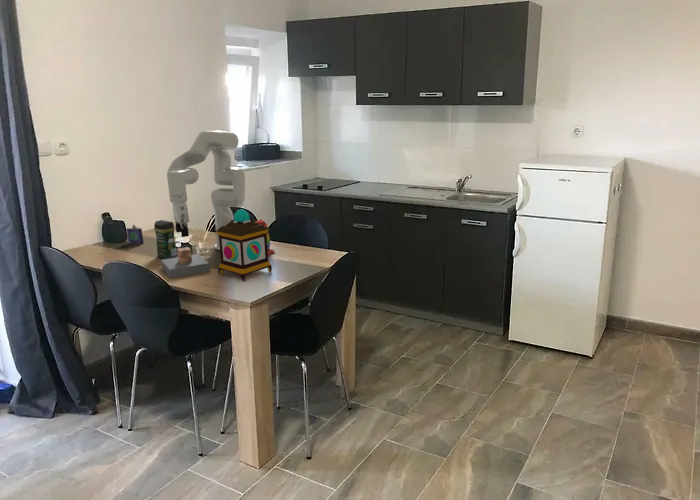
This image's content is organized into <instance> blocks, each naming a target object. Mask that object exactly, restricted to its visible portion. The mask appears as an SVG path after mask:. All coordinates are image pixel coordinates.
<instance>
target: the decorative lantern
mask: <svg viewBox="0 0 700 500" xmlns="http://www.w3.org/2000/svg"><path fill="white" fill-rule="evenodd" d="M269 229H270V228H269V227H268V228H267V227H266V226H264V225H262V224H258V223H256V221H255V220H253V219H252V218H250V213H248V211H246V210H245V209H242V208H241V209H238V210H236V212H235V213H234V214H233V220H231V222H229V223H228V224H226V225H225V226H221V227H220V228H219V229H218V230H217V231H216V230H215V233H216V232H217V234H218V236H219V242H220V250H219V251H220V253H219V255H220V264H219V266H218V274H219V275H220V276H222V275H223V274H224V272H228V273H232V274H235V275H239V276H240V278H241V280H242V282H245V281H246V276H247V275H250V274H253V273H257V272H259V271H262V270H265V269H267V272H268V273H271V272H272V271H273V268H272V267H273V266H272V264H271V262H270V261H269V257H268V250H267V232H268V233H269Z"/></svg>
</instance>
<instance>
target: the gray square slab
mask: <svg viewBox="0 0 700 500" xmlns="http://www.w3.org/2000/svg"><path fill="white" fill-rule="evenodd" d="M191 257H192V262H188V263H182V264H181V263H180V262H179V261H178V256H176V257H172V258H163V259H161V260H160V263H161V265H160V266H161V269H162V271H164V272H165V273H166V274H167V276H168V277H169V278H170V279H173V278H180V277H184V276H191V275H197V274H202V273H208V272H211V268H210V262H208V260H206V259H205V258H204V257H202V256H201V254H198V253H195V254H191Z"/></svg>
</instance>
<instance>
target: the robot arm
mask: <svg viewBox="0 0 700 500" xmlns="http://www.w3.org/2000/svg"><path fill="white" fill-rule="evenodd" d="M238 146H239V137H238V136H237V134H236V133H234V132H229V131H222V130H203V131H200V132H199V134H198V135H197V136H196V138H195V140H194V142H193V144H192V145H191V147H190V149H188V150H187V151H185V152H183V153H182V154H180V155H179V156H177V157H176V158H175V159H174V160H172V162H171V164H170V165H169V167H168V169H167V172H166V178H167V186H168V187H167V188H168V194H169V202H170V203H172V214H173V219H174V222H175V224H174V226H175V232H176V233H181V234H180V236H181V238H185V237H189V236H190V233H189V225H188V223H190V215H189V210H188V205H187V201H188V197H187V196H188V195H187V188H186V187H187V185H193V184H196V182H197V181H198V180H199V177H200V176H199V171H198V170H197V169H196V168H193V167H192V166H196V165H199V164H201V163H203V162H205V161H206V159H207V158H208V156H209V154H210V153H212V155H213V161H214V162H213V163H214V166H213V169H214V170H213V171H214V173H213V174H214V175H213V178H214V180H213V181H214V183H215V185H218V186H225V187H224V188H223V187H219V188H214V189H213V190H212V192H211V193H210V199H211V203H212V207H213V213H214V225H215V234H216V235H215V237H216V243H215V244H214V246H213V247H214V249H215V250H217V251H218V250H219V251H220V242H219V236H218V234H217V232H216V231H217V230H218V229H219V228H220V227H221V226H225V225H226V224H228V223H229V222H231V220H234V214H233V210H231V208H241V207H243V206H244V204H245V199H246V176H245V173H244V172H245V171H244V170H243V169H242V168H240V167H235V166H234V167H233V166H232V158H231V154H230V153H229V152H228V151H233V150H235V149H237V148H238ZM227 186H229V187H230V186H231V187H233V188H227Z"/></svg>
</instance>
